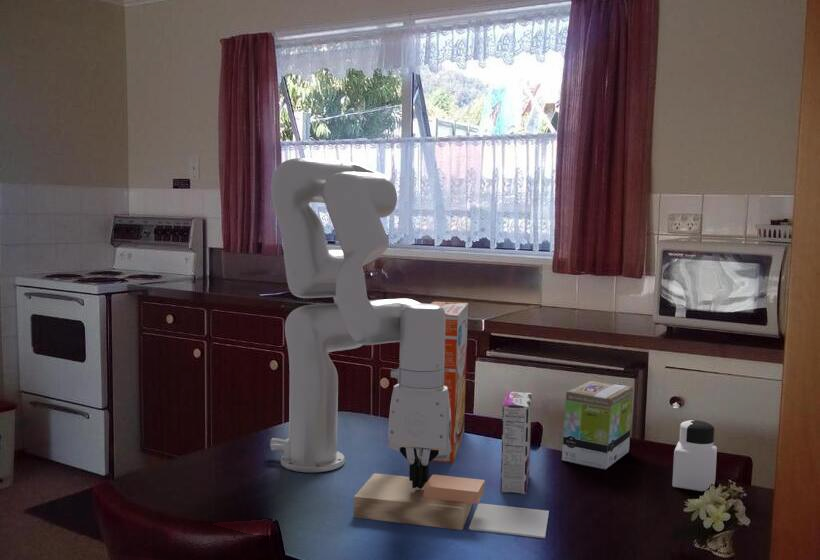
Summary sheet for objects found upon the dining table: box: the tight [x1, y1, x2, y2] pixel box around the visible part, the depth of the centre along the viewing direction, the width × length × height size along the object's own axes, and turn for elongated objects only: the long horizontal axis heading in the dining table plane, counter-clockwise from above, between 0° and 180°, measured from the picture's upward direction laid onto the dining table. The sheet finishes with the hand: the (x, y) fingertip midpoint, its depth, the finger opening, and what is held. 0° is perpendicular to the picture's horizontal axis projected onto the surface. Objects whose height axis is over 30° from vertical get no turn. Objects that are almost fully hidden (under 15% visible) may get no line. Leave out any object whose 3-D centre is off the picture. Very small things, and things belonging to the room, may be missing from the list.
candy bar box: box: [500, 390, 532, 495], centre depth 145 cm, size 11×5×16 cm, turn 168°
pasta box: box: [417, 301, 469, 464], centre depth 168 cm, size 23×8×30 cm, turn 171°
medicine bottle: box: [671, 419, 718, 492], centre depth 147 cm, size 7×7×12 cm
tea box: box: [561, 380, 634, 470], centre depth 163 cm, size 15×10×15 cm
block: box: [424, 474, 486, 505], centre depth 129 cm, size 9×6×2 cm, turn 74°
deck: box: [353, 472, 474, 531], centre depth 131 cm, size 18×12×4 cm, turn 77°
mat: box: [468, 503, 550, 539], centre depth 128 cm, size 12×11×1 cm
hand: (418, 485), depth 131 cm, fingers closed
